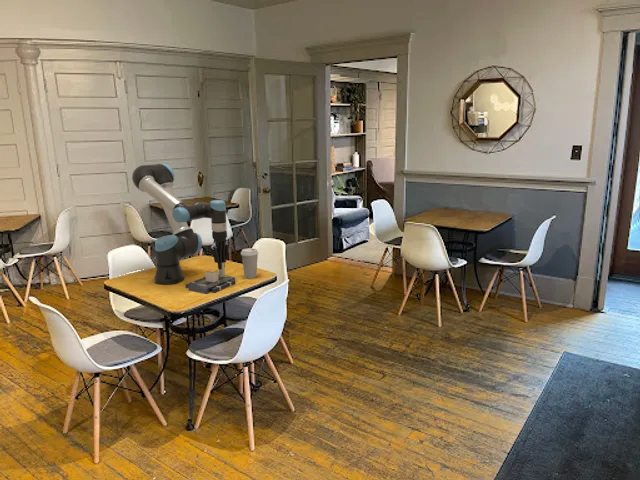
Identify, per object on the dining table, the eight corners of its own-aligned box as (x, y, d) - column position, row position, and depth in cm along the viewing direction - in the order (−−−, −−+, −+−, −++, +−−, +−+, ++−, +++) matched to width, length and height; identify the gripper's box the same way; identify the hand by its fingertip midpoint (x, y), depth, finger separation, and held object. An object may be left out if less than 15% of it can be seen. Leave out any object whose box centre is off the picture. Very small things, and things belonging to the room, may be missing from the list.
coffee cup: (256, 279, 259) (255, 252, 256) (239, 278, 261) (237, 251, 257) (261, 274, 268) (260, 248, 265) (245, 273, 270) (244, 247, 267)
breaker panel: (188, 290, 243) (188, 285, 242) (217, 278, 262) (217, 273, 261) (206, 293, 237) (206, 288, 237) (235, 281, 256) (235, 276, 255)
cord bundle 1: (185, 287, 247) (184, 283, 246) (209, 278, 262) (209, 274, 262) (191, 289, 245) (191, 285, 244) (215, 279, 260) (215, 275, 259)
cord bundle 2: (211, 292, 240) (210, 288, 239) (232, 283, 253) (231, 279, 253) (215, 293, 238) (214, 289, 238) (236, 284, 252) (235, 280, 252)
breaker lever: (206, 281, 249) (205, 270, 247) (210, 279, 252) (210, 268, 250) (213, 282, 246) (213, 271, 245) (218, 280, 249) (217, 270, 248)
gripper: (216, 233, 242) (219, 278, 248) (233, 228, 253) (235, 272, 259) (205, 232, 246) (207, 276, 251) (222, 227, 257) (224, 270, 262)
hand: (221, 274), depth 255 cm, fingers closed
